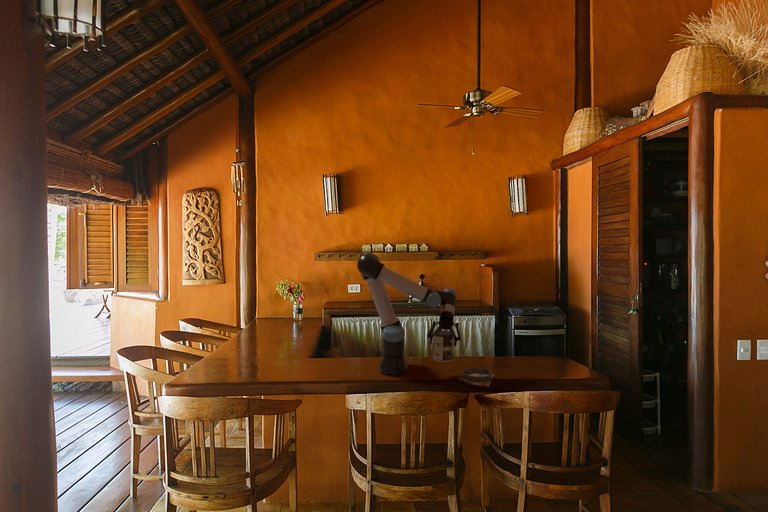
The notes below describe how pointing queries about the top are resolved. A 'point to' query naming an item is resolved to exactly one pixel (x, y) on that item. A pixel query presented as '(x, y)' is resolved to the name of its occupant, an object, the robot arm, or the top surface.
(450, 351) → the coffee can
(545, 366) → the top surface
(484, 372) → the collar board
